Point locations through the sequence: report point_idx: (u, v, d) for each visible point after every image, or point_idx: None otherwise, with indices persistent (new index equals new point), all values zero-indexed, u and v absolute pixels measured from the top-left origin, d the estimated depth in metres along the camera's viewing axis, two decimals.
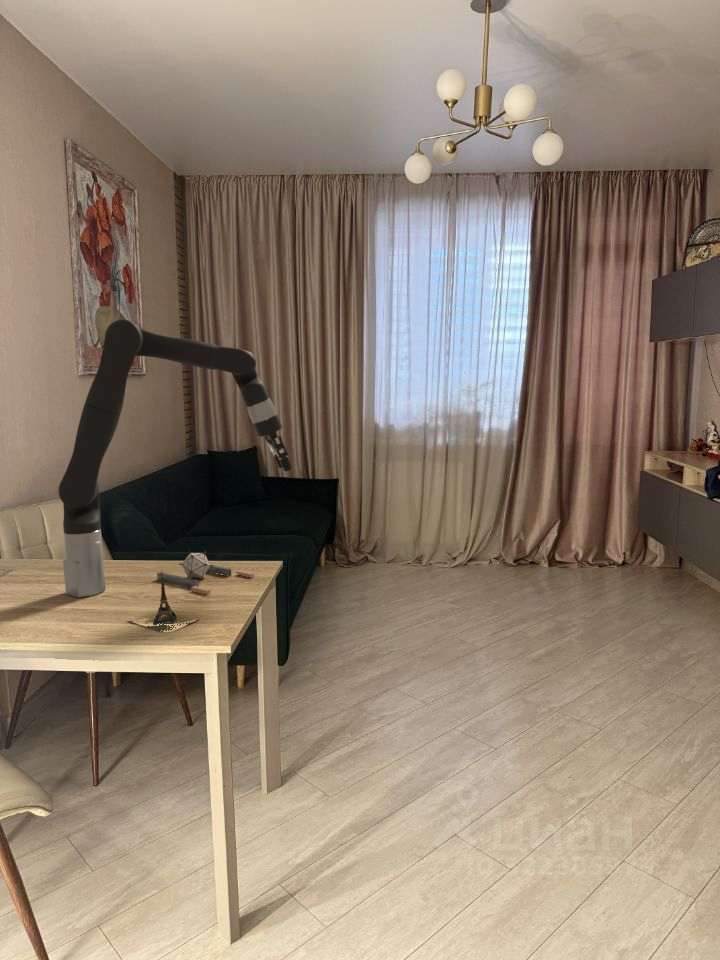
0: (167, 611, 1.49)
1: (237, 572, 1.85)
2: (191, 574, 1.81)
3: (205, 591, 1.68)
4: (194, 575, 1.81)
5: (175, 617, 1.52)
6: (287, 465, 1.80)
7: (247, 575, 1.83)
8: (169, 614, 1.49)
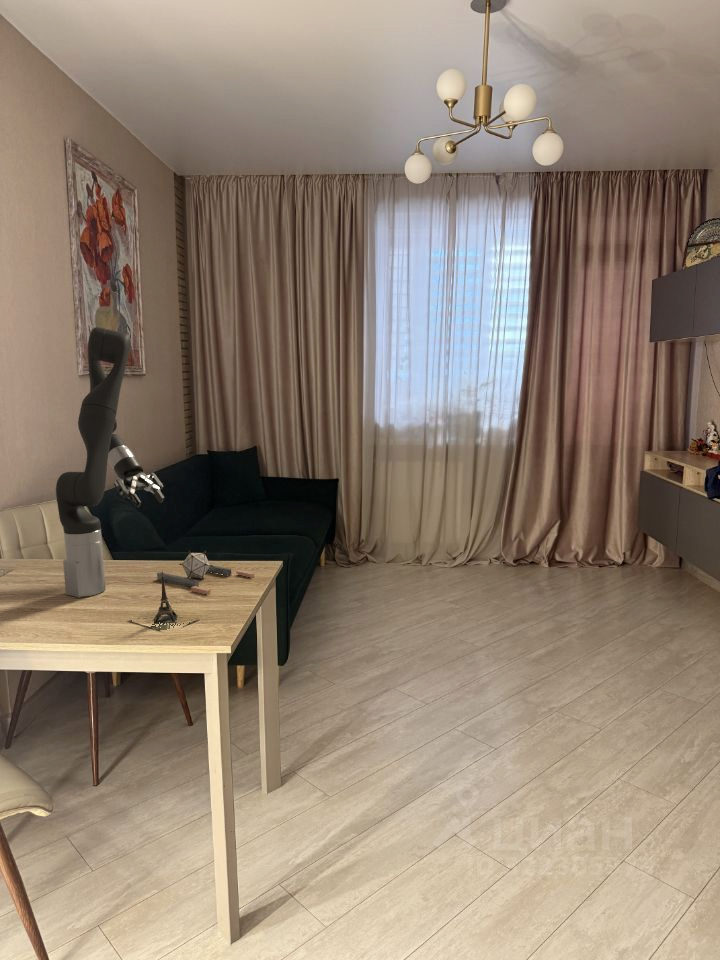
0: (168, 611, 1.49)
1: (237, 572, 1.85)
2: (191, 574, 1.81)
3: (205, 591, 1.68)
4: (194, 575, 1.81)
5: (176, 616, 1.52)
6: None
7: (247, 575, 1.83)
8: (170, 613, 1.49)
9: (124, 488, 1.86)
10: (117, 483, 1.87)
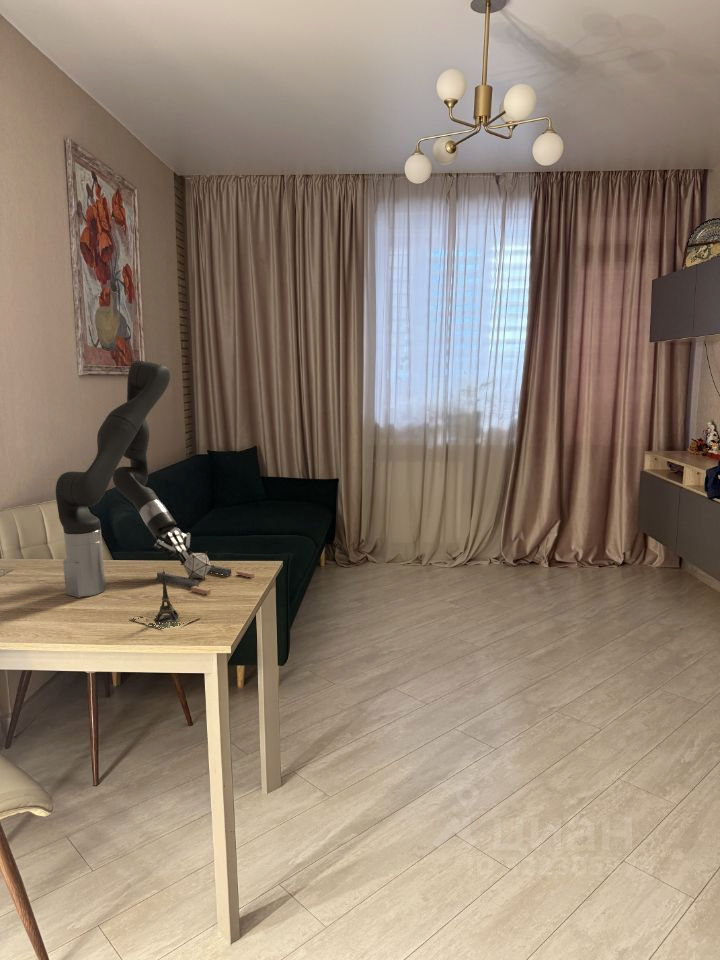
0: (169, 609, 1.50)
1: (237, 572, 1.85)
2: (192, 574, 1.80)
3: (205, 591, 1.68)
4: (195, 575, 1.81)
5: (177, 615, 1.53)
6: None
7: (247, 575, 1.83)
8: (171, 612, 1.50)
9: (170, 547, 1.83)
10: (160, 546, 1.82)
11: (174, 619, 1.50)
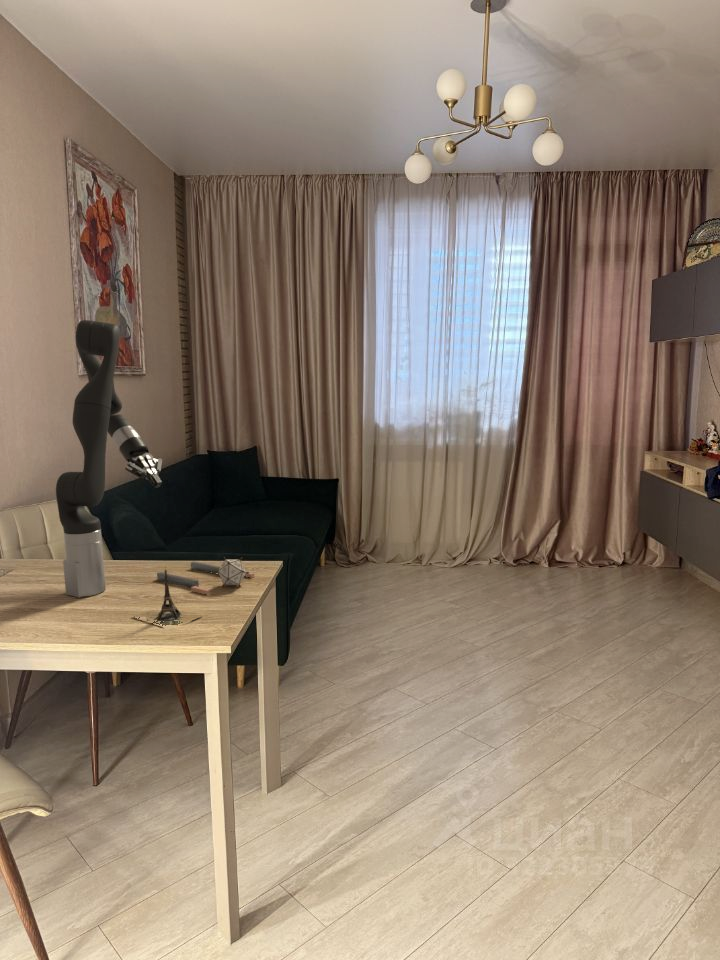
0: (170, 608, 1.51)
1: None
2: (227, 582, 1.73)
3: (205, 591, 1.68)
4: (230, 583, 1.73)
5: (179, 614, 1.54)
6: None
7: (247, 575, 1.83)
8: (172, 611, 1.51)
9: (141, 469, 1.89)
10: (131, 468, 1.88)
11: (176, 617, 1.51)
